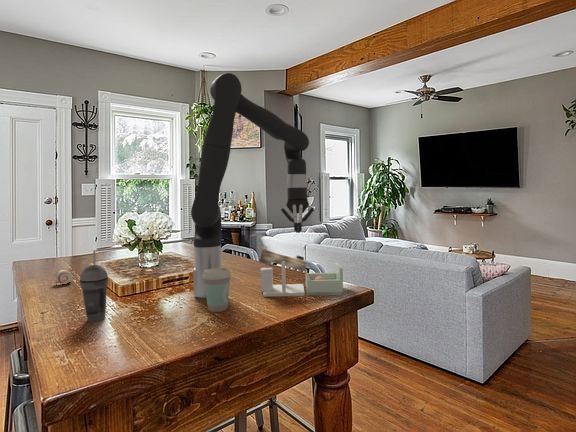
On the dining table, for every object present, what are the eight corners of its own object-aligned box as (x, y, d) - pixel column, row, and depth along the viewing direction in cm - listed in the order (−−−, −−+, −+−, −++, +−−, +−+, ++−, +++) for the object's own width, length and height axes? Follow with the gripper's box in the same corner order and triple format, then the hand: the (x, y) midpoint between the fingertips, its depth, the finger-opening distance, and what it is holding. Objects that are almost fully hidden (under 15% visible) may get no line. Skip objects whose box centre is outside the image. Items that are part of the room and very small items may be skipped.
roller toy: (53, 284, 147) (52, 270, 147) (71, 282, 152) (70, 268, 151) (55, 286, 144) (55, 272, 144) (74, 283, 148) (73, 269, 148)
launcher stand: (260, 296, 123) (259, 263, 122) (262, 287, 135) (261, 256, 134) (304, 295, 123) (303, 262, 122) (303, 286, 135) (302, 255, 134)
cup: (307, 295, 123) (307, 269, 122) (305, 286, 135) (305, 262, 134) (343, 294, 123) (342, 268, 122) (338, 285, 135) (337, 261, 134)
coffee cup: (226, 314, 106) (224, 273, 105) (198, 312, 107) (197, 272, 107) (236, 305, 114) (234, 267, 113) (210, 304, 116) (209, 266, 115)
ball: (328, 282, 127) (320, 291, 127) (327, 280, 131) (319, 288, 131) (319, 275, 126) (312, 284, 127) (318, 273, 130) (311, 281, 131)
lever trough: (258, 262, 125) (263, 248, 124) (261, 256, 138) (265, 243, 138) (303, 276, 125) (307, 262, 125) (301, 268, 138) (305, 255, 138)
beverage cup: (103, 313, 109) (100, 247, 108) (115, 318, 105) (111, 249, 103) (77, 320, 104) (73, 250, 102) (88, 325, 99) (84, 252, 98)
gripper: (279, 187, 133) (280, 234, 134) (315, 186, 133) (316, 233, 134) (280, 187, 141) (281, 231, 142) (314, 186, 141) (314, 231, 142)
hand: (298, 232), depth 138 cm, fingers closed
